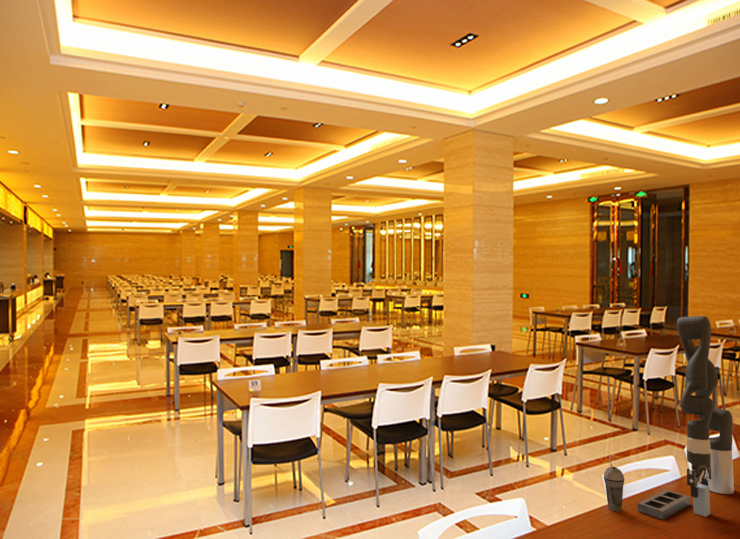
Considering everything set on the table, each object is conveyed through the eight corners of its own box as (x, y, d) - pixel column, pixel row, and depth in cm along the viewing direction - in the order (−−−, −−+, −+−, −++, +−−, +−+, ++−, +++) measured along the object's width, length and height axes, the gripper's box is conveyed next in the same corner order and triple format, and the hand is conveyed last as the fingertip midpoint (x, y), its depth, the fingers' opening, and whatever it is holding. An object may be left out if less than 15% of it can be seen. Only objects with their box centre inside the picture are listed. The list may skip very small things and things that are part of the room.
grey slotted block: (665, 497, 203) (665, 489, 203) (690, 504, 195) (690, 496, 195) (637, 511, 190) (637, 503, 190) (662, 519, 183) (662, 511, 183)
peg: (698, 510, 190) (697, 483, 191) (710, 513, 187) (709, 486, 188) (693, 512, 188) (692, 485, 189) (705, 516, 185) (704, 488, 185)
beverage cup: (628, 514, 188) (626, 459, 189) (607, 512, 189) (605, 458, 190) (622, 505, 195) (620, 453, 196) (602, 504, 196) (600, 452, 197)
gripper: (696, 444, 196) (697, 487, 195) (678, 450, 188) (679, 495, 187) (718, 449, 190) (719, 493, 189) (700, 455, 182) (702, 502, 181)
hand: (699, 494), depth 188 cm, fingers open, 8 cm apart
